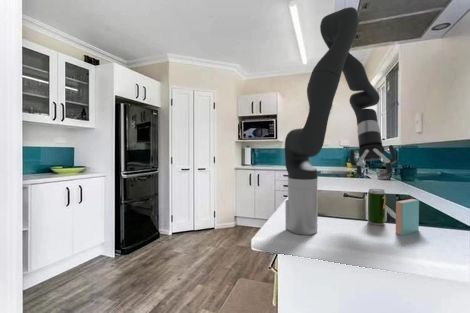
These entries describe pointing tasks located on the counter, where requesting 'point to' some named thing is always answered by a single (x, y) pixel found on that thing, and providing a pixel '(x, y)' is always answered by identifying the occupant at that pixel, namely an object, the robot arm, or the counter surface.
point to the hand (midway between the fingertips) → (374, 175)
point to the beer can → (376, 206)
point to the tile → (407, 216)
